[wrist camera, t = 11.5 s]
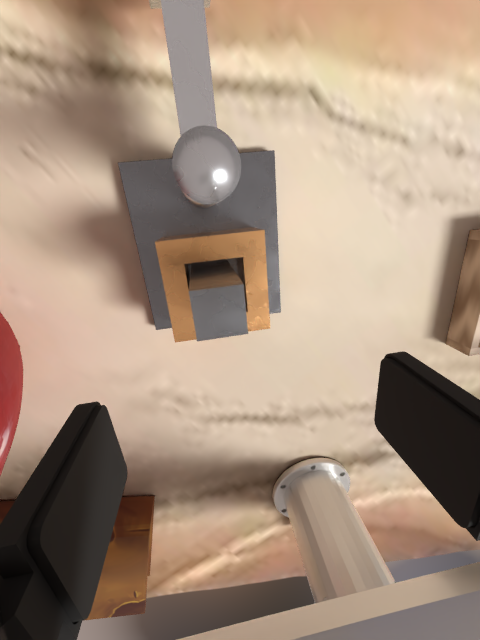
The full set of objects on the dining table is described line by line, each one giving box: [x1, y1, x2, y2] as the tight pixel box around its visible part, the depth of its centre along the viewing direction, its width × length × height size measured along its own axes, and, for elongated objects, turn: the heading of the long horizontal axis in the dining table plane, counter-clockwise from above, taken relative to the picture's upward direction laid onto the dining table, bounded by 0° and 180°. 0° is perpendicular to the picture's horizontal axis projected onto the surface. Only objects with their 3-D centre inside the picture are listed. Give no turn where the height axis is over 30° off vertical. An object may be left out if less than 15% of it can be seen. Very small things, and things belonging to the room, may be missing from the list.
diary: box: [0, 496, 155, 620], centre depth 38 cm, size 23×19×6 cm
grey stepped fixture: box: [118, 0, 281, 342], centre depth 21 cm, size 25×14×13 cm, turn 5°
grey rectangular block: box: [189, 259, 248, 341], centre depth 23 cm, size 4×4×11 cm
